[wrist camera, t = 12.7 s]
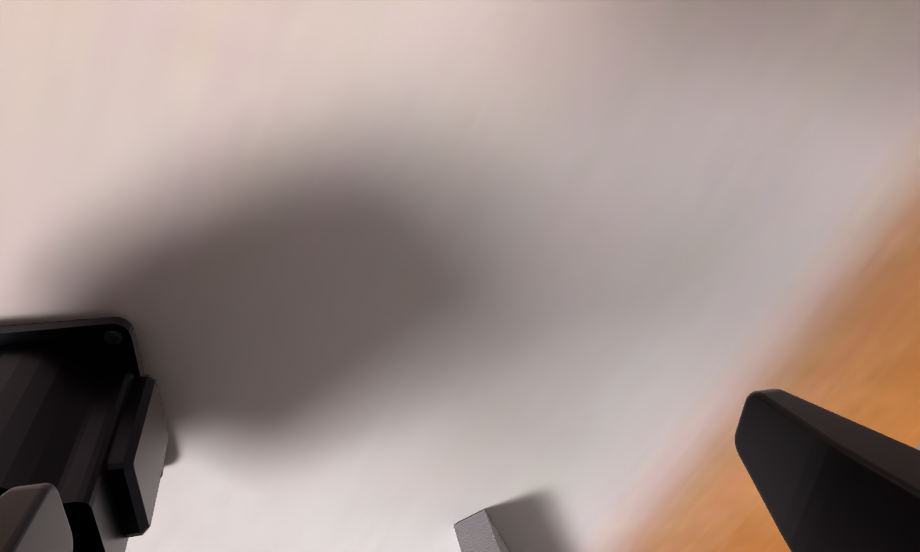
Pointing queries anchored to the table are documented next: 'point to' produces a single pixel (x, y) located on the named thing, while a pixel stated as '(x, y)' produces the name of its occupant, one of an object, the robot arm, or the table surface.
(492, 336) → the table surface
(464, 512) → the table surface
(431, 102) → the table surface
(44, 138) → the table surface
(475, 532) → the plate
